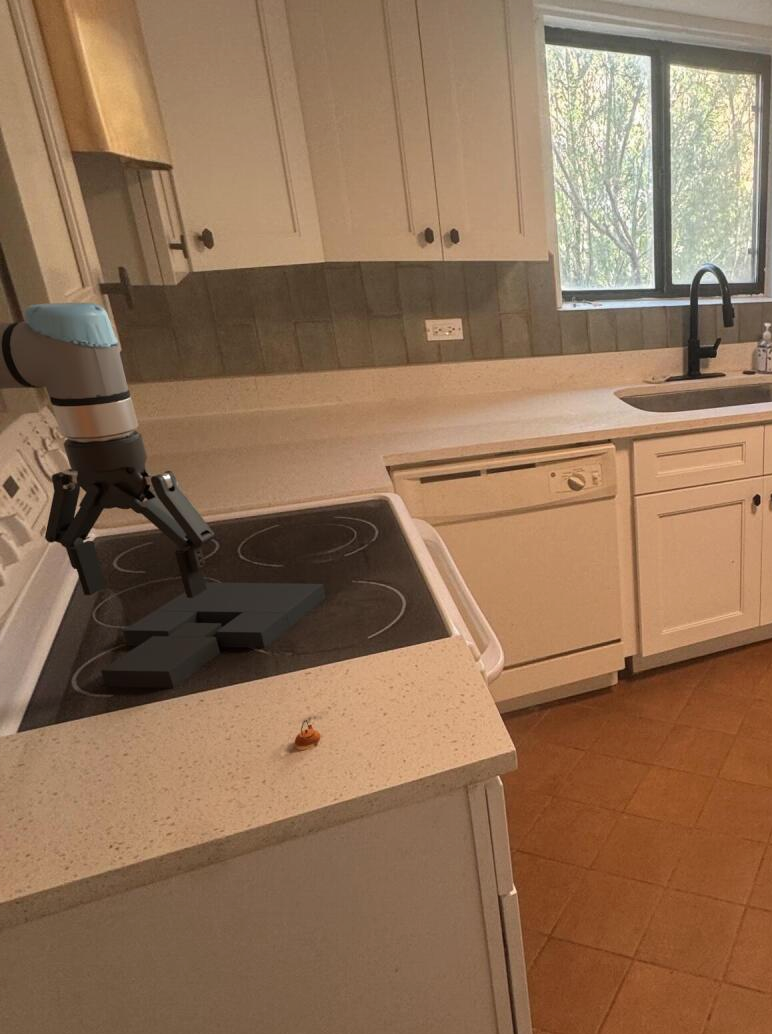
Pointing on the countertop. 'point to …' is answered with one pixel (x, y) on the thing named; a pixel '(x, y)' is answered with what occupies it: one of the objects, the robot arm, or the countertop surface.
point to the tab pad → (165, 658)
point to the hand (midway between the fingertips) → (146, 592)
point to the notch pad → (233, 612)
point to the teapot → (307, 738)
